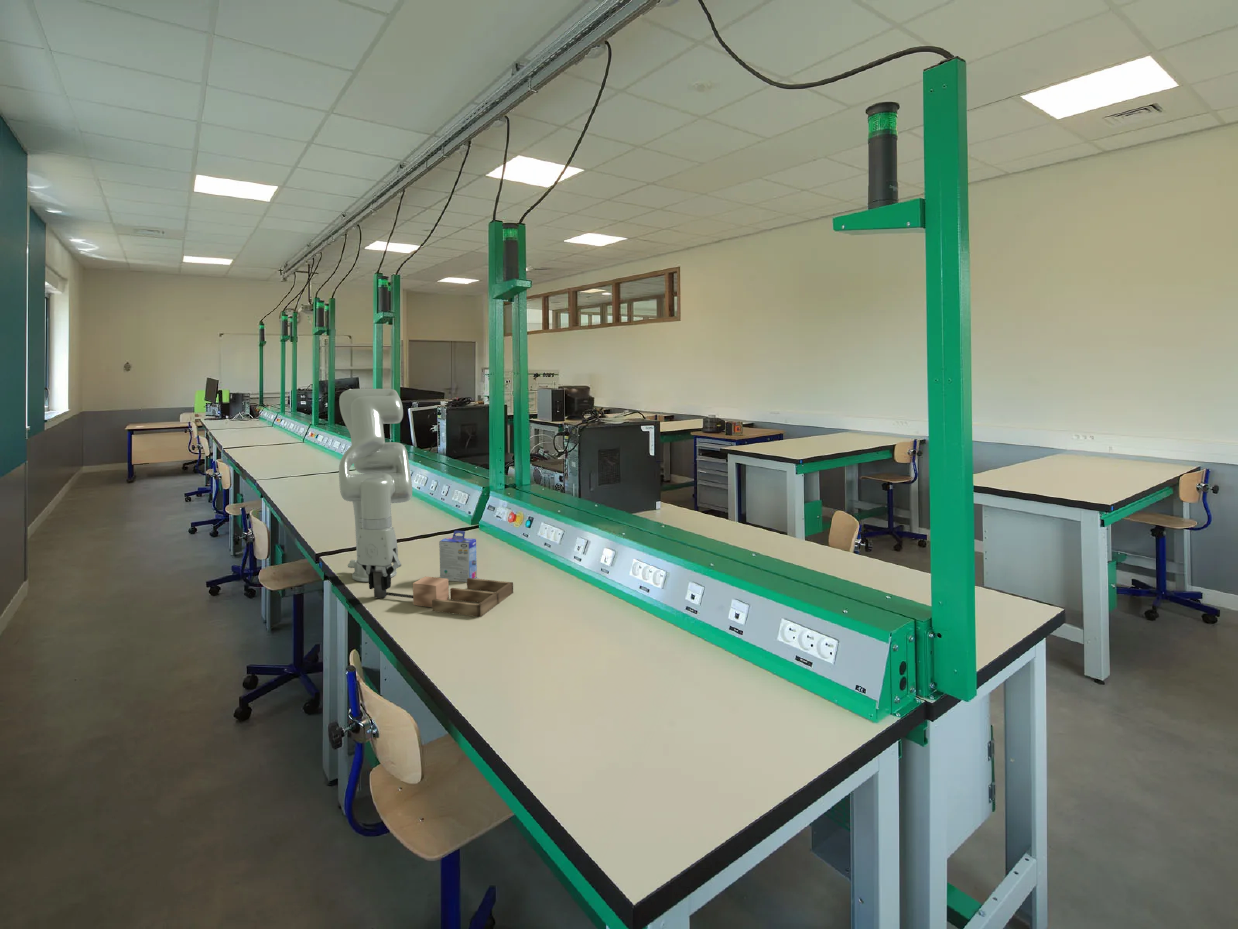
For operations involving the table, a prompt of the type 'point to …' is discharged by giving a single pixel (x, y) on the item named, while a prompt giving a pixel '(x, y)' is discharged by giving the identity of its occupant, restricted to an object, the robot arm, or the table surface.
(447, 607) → the tray
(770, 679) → the table surface
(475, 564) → the ink cartridge box
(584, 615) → the table surface
